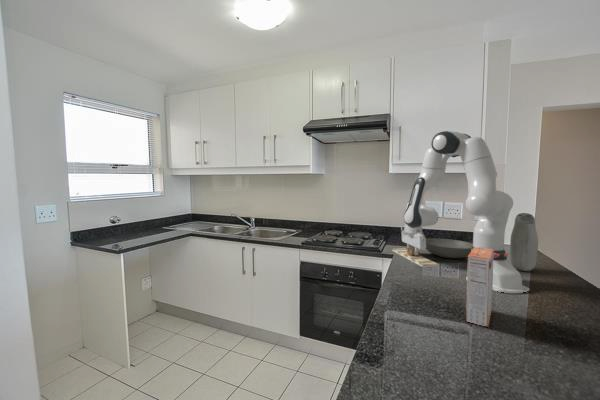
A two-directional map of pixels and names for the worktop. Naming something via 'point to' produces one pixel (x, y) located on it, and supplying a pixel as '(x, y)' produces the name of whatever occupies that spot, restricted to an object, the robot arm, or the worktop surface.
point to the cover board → (415, 256)
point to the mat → (408, 258)
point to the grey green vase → (524, 243)
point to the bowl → (449, 248)
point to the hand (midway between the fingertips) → (413, 253)
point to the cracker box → (479, 286)
